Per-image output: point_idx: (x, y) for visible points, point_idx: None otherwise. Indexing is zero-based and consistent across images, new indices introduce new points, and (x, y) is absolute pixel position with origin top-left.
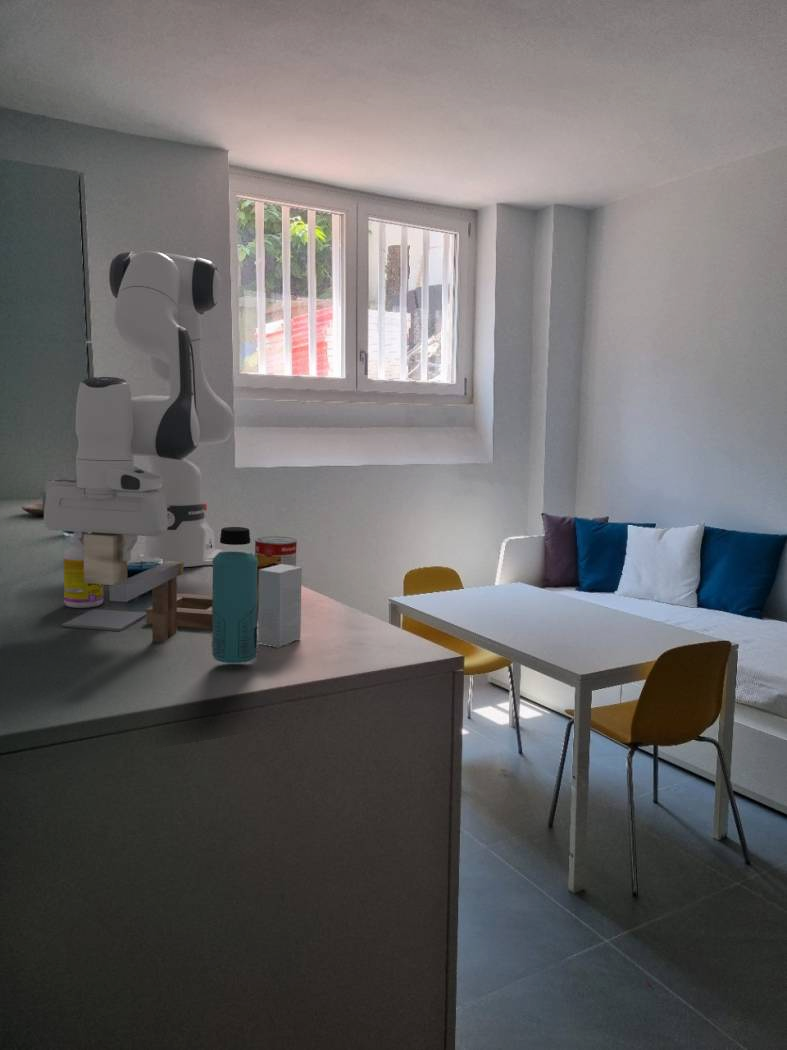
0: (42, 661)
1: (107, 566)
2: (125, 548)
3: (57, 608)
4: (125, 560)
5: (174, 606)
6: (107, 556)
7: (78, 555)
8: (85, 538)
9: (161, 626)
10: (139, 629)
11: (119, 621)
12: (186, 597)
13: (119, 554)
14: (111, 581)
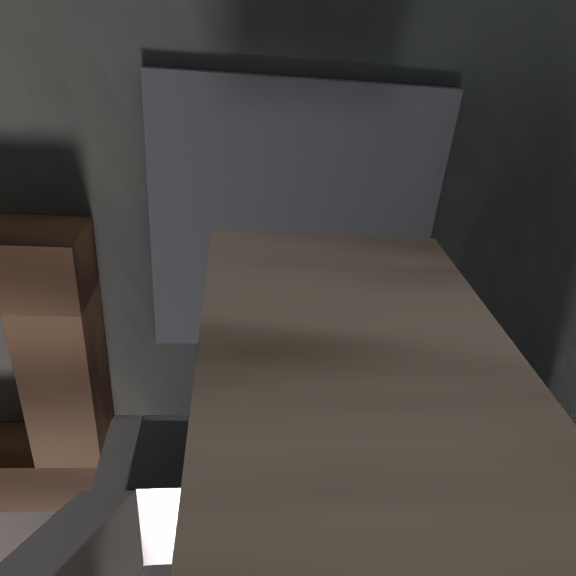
0: None
1: (257, 305)
2: (86, 519)
3: (558, 348)
4: (122, 417)
5: None
6: (260, 367)
7: None
8: None
9: None
10: (69, 120)
11: (212, 195)
12: (18, 470)
13: (176, 458)
14: (221, 240)
